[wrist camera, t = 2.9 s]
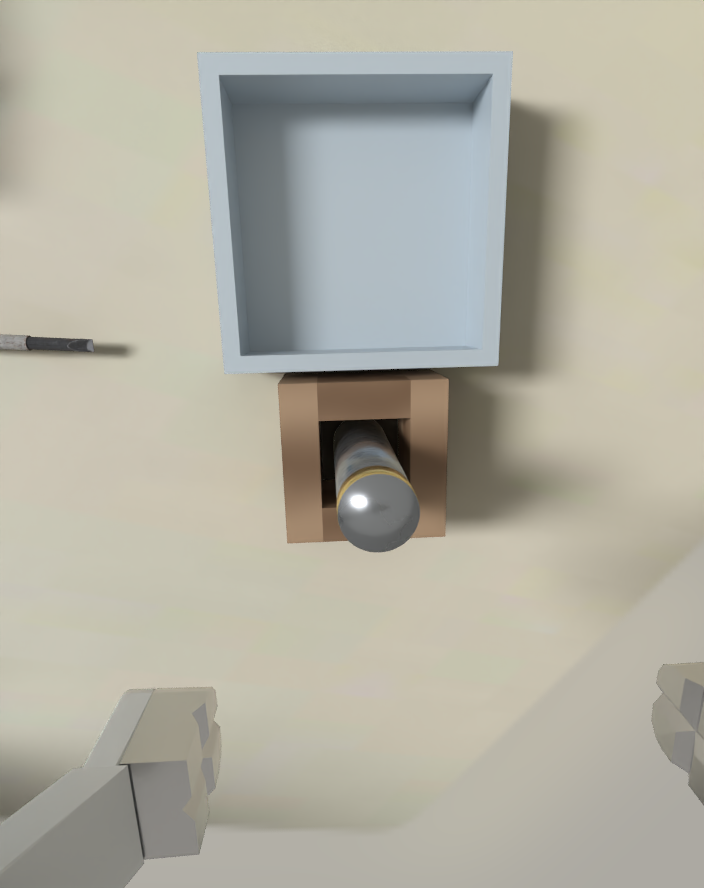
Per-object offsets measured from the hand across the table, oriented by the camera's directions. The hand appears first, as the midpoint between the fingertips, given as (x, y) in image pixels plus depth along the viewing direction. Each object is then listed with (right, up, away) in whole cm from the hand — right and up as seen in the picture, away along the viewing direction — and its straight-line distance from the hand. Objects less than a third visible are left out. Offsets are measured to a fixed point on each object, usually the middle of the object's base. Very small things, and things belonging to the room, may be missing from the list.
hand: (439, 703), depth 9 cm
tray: (-1, +16, +17) cm, 23 cm away
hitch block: (-1, +5, +20) cm, 20 cm away
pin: (-1, +5, +20) cm, 20 cm away
